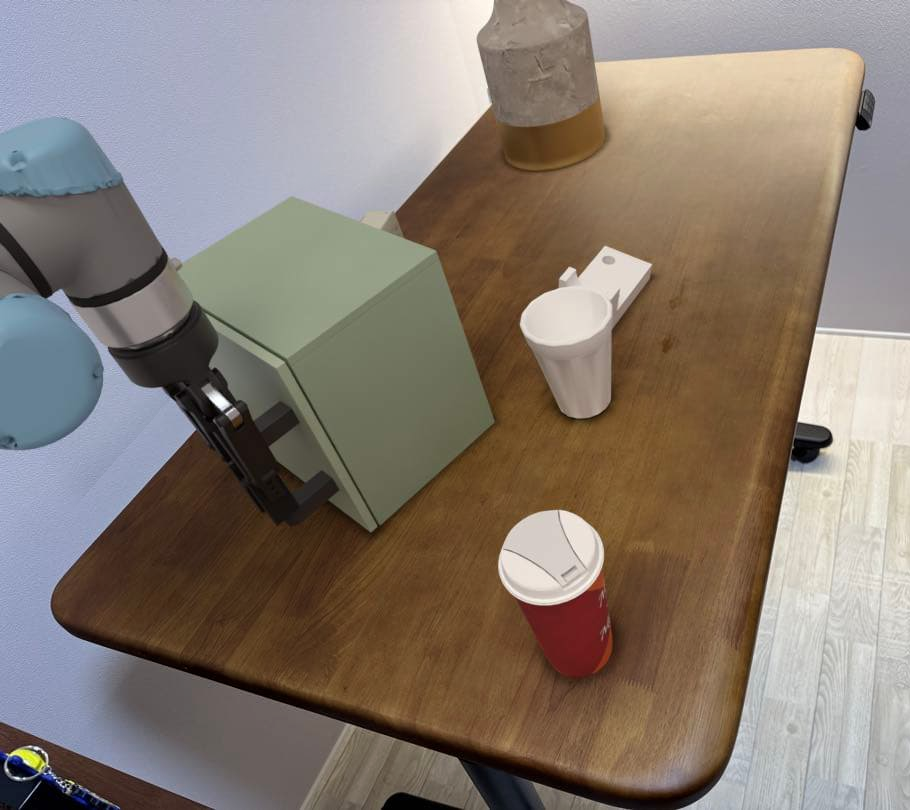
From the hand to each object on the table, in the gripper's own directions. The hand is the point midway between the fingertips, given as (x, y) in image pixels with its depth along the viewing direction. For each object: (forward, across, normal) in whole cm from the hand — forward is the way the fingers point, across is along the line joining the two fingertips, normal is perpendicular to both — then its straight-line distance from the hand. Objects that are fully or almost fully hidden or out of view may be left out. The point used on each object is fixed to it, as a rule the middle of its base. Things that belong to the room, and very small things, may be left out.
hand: (279, 508), depth 76 cm
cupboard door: (+8, +10, -3) cm, 13 cm away
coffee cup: (+9, -30, -9) cm, 32 cm away
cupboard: (+8, +10, -16) cm, 21 cm away
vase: (+9, +37, -81) cm, 90 cm away
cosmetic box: (+9, +29, -37) cm, 48 cm away
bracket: (+9, -1, -49) cm, 50 cm away
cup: (+9, -10, -33) cm, 36 cm away
